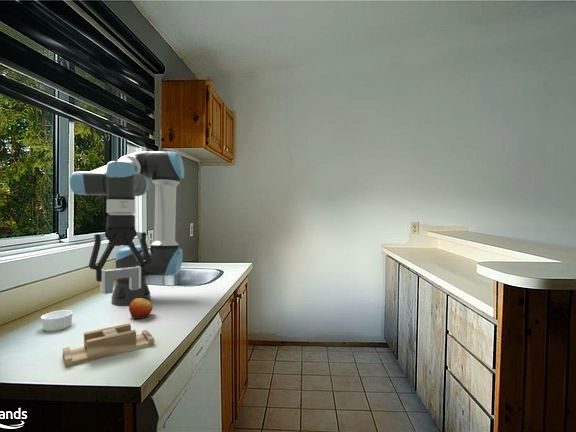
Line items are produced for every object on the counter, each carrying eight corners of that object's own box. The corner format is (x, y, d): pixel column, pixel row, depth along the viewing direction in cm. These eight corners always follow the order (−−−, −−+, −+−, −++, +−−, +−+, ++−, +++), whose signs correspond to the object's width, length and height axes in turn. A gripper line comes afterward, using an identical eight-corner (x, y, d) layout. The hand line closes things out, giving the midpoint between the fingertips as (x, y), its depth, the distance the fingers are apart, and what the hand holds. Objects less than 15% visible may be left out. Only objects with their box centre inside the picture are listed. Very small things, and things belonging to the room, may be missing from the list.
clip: (103, 291, 96) (103, 269, 95) (136, 287, 101) (136, 266, 101) (105, 294, 93) (105, 271, 93) (138, 289, 99) (138, 268, 99)
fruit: (124, 311, 122) (136, 292, 123) (143, 320, 125) (155, 301, 126) (122, 318, 114) (135, 298, 116) (143, 327, 117) (155, 307, 119)
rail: (62, 355, 90) (62, 336, 90) (146, 335, 104) (146, 319, 104) (65, 367, 84) (64, 347, 84) (154, 344, 97) (154, 327, 97)
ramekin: (52, 333, 105) (52, 320, 105) (34, 329, 108) (34, 316, 108) (79, 324, 113) (78, 311, 113) (61, 320, 116) (61, 308, 116)
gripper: (79, 214, 87) (79, 298, 87) (162, 214, 101) (162, 287, 101) (75, 214, 93) (76, 292, 93) (155, 213, 106) (155, 282, 107)
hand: (121, 289), depth 97 cm, fingers closed on clip, 9 cm apart
